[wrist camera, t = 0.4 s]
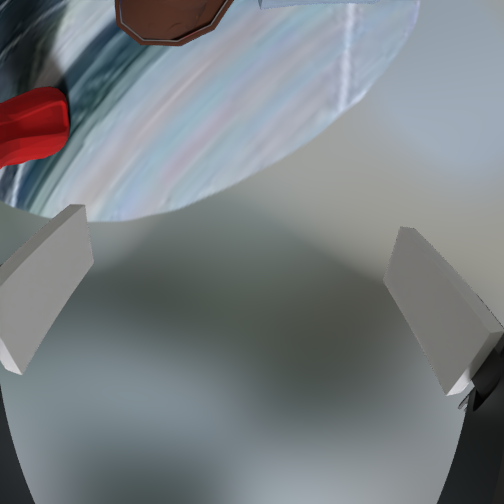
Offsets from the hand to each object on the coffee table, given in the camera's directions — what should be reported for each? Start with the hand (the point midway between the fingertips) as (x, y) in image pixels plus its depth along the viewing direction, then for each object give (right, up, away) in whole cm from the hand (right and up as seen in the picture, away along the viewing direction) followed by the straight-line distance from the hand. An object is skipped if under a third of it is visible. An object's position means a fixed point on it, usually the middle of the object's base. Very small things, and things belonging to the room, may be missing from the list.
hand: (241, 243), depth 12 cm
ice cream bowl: (-7, +26, +15) cm, 31 cm away
